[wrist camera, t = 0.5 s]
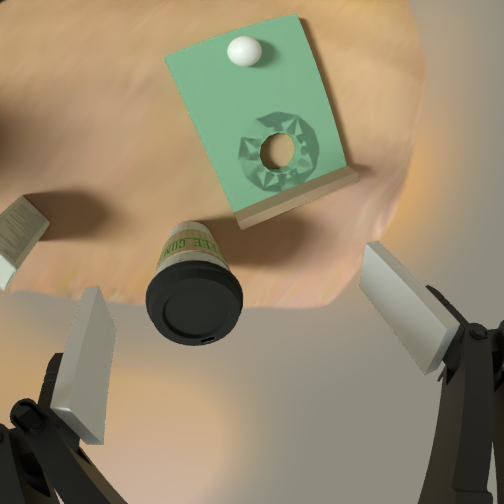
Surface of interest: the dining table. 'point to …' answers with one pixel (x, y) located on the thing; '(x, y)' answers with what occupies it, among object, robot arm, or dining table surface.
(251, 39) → the ball
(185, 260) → the coffee cup
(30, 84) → the dining table surface
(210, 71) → the putting platform
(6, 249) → the skincare box
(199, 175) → the dining table surface
